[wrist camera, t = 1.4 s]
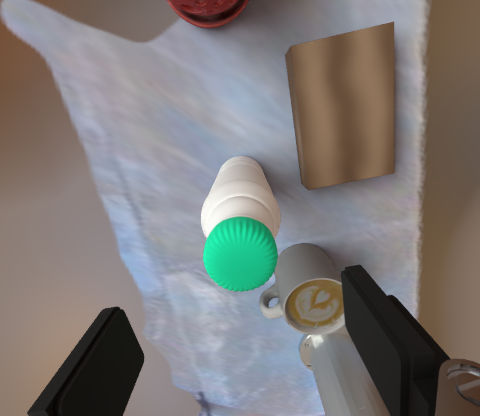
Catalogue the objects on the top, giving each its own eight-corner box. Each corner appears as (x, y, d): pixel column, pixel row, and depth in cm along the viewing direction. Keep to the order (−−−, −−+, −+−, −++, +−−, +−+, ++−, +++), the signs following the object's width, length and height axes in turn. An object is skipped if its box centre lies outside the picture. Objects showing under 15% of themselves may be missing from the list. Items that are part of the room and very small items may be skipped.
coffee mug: (325, 237, 42) (350, 270, 32) (333, 285, 45) (358, 328, 35) (249, 255, 43) (251, 292, 33) (262, 300, 46) (267, 346, 36)
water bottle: (263, 199, 39) (297, 311, 16) (219, 200, 39) (187, 313, 16) (263, 154, 37) (302, 207, 13) (217, 156, 37) (174, 210, 14)
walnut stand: (376, 33, 32) (394, 21, 28) (379, 168, 38) (394, 173, 34) (285, 55, 33) (290, 46, 29) (301, 183, 38) (307, 189, 35)
